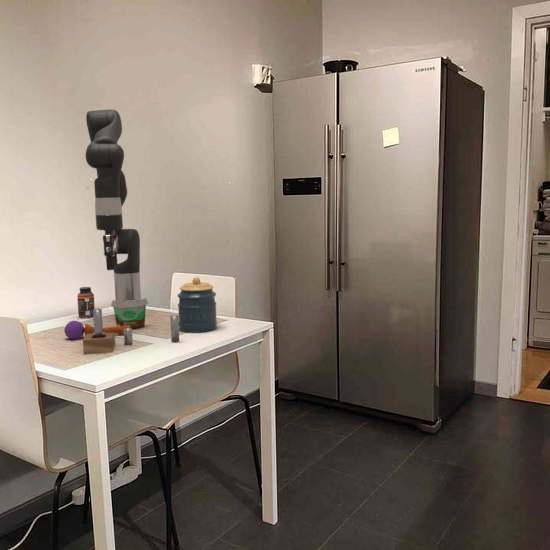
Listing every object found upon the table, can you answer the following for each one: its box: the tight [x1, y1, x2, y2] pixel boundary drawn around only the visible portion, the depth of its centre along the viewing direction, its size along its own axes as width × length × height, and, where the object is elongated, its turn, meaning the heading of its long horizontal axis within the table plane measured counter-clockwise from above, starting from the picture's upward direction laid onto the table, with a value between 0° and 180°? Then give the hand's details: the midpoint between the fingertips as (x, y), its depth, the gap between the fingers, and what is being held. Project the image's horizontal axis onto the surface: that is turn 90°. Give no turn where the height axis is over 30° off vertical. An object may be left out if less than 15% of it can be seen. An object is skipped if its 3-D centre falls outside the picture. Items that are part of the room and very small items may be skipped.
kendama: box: [63, 320, 130, 340], centre depth 177 cm, size 6×6×20 cm
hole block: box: [82, 332, 116, 355], centre depth 162 cm, size 8×8×4 cm
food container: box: [110, 297, 149, 331], centre depth 188 cm, size 12×6×10 cm, turn 114°
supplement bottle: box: [77, 286, 96, 319], centre depth 209 cm, size 6×6×11 cm
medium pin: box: [169, 314, 180, 343], centre depth 170 cm, size 2×2×8 cm
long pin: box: [93, 308, 104, 338], centre depth 161 cm, size 2×2×12 cm
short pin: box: [123, 328, 134, 346], centre depth 167 cm, size 2×2×5 cm
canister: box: [177, 276, 218, 333], centre depth 186 cm, size 13×13×18 cm
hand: (112, 267), depth 164 cm, fingers open, 8 cm apart
